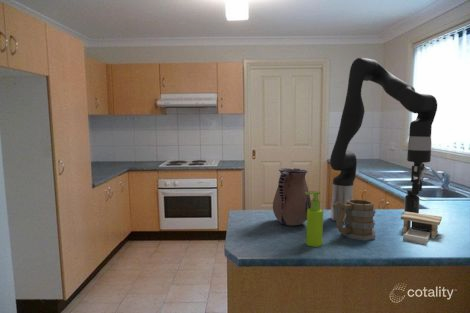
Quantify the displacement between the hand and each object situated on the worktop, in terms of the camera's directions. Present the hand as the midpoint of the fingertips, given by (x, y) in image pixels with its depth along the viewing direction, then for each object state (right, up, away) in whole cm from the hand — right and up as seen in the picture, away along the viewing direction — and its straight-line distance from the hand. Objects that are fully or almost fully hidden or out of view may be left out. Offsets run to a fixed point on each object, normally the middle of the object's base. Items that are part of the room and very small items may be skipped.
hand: (416, 192), depth 122 cm
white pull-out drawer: (+7, -20, +11) cm, 24 cm away
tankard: (-20, -19, +12) cm, 30 cm away
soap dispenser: (-38, -20, +2) cm, 43 cm away
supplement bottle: (+26, -17, +51) cm, 60 cm away
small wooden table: (+12, -19, +19) cm, 29 cm away
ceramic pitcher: (-42, -18, +28) cm, 54 cm away
